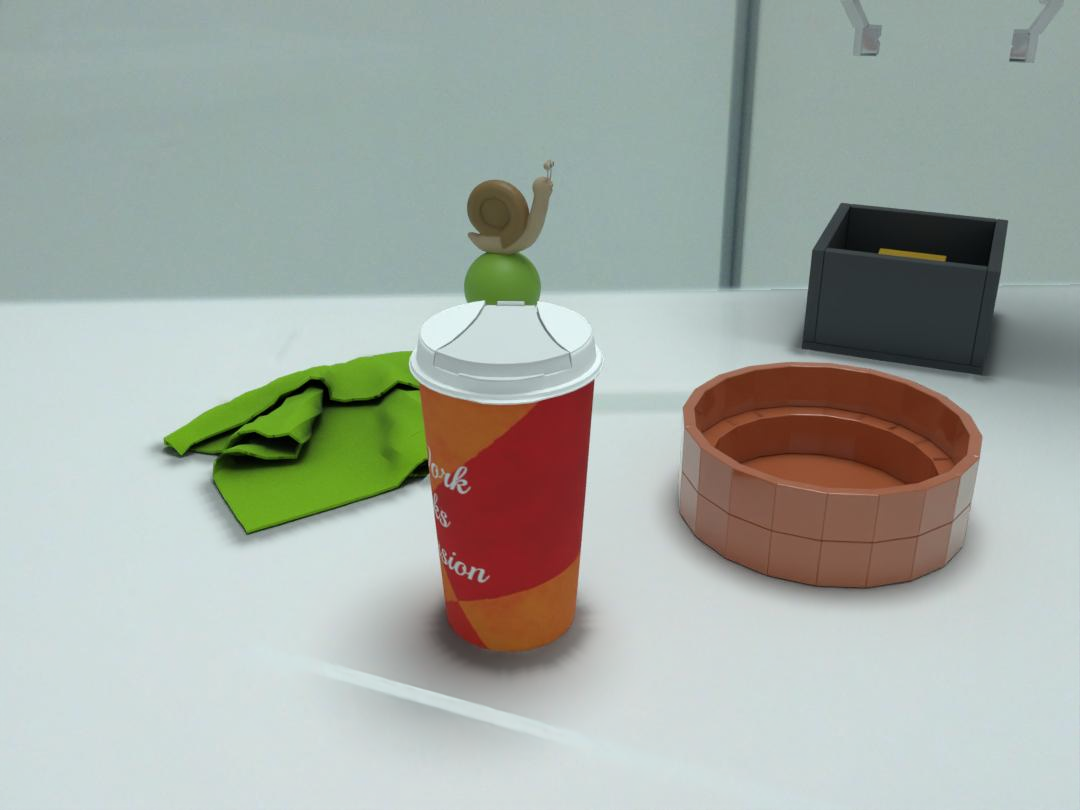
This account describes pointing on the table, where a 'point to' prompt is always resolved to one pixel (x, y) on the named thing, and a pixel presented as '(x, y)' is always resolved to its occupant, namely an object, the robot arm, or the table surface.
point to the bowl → (827, 473)
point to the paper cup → (508, 464)
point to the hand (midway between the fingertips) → (942, 58)
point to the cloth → (314, 439)
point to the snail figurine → (505, 241)
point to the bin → (905, 287)
